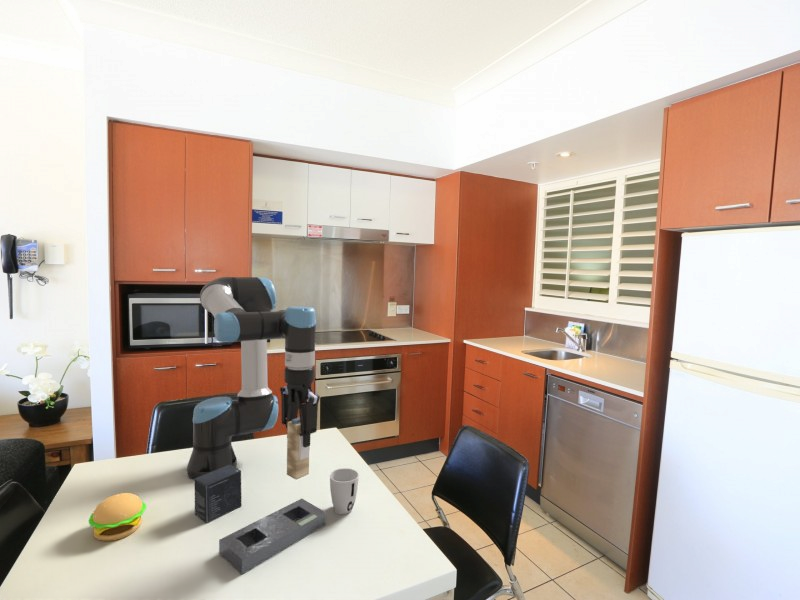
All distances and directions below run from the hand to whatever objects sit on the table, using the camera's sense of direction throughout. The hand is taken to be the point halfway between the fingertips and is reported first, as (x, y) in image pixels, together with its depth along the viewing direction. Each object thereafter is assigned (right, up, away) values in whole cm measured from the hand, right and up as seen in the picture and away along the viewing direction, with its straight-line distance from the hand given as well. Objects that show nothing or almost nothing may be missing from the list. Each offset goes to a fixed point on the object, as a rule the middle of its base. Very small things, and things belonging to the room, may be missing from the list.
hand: (298, 455), depth 106 cm
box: (-24, -18, +7) cm, 31 cm away
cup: (+10, -19, +10) cm, 24 cm away
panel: (-5, -20, -4) cm, 20 cm away
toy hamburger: (-45, -18, -2) cm, 49 cm away
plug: (0, -5, 0) cm, 5 cm away
